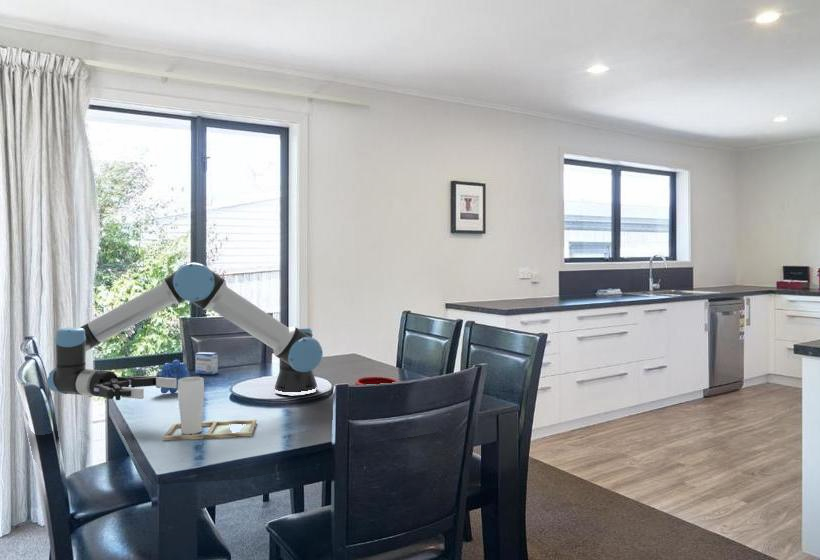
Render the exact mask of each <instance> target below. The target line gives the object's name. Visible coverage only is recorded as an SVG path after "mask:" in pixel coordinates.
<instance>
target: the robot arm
mask: <svg viewBox="0 0 820 560" xmlns="http://www.w3.org/2000/svg"><path fill="white" fill-rule="evenodd" d="M186 301H188V302H190V303H192V304H194V305H195V306H197V307H198V308H200V309H201V310H203V311H204V310H211V311H214V312H215V313H217V314H218V315H220V316H221V317H222V318H225V319H226V320H228V321H229V322H230V323H232V324H234V325H235V326H237V327H238V328H239V329H242V330H243V331H244V332H246V333H248V334H250V335H251V336H252V337H254V338H255V339H257V340H259V341H260V342H262V343H263V344H265V345H266V346H268V347H269V348H271V349H272V350H273V354H274V356H275V357H277V358H278V359H279V370H278V371H279V373H278V374H277V378H276V382H275V385H274V390H275V389H276V390H278V391H282V392H301V391H308V390H312V389H315V388H316V387H317V388H318V384H317V382H316V377H315V374H314V370H315V369H316V368H317V367H318V366H319V365H320V364H321V362H322V360H323V356H324V355H323V354H324V353H323V348H322V346H321V343H320V342H319V341H318V340H317V339H315V338H313V330H312V329H311V328H298V327H296V326H287V325H285V324H284V323H282V322H281V321H279V320H277V319H276V318H275V317H274V316H272V315H270V314H269V313H267V312H266V311H264V310H262V309H261V308H260V307H259V306H256V305H255V304H253V303H252V302H251V301H249V300H247V299H246V298H245V297H243V296H241V295H240V294H239V293H237V292H235V291H234V290H232V289H231V288H229V287H228V285H227V281H226V279H225V278H223V277H221V276H220V275H219V274H217V273H215V272H214V271H213V270H211V269H210V268H209V267H207V266H206V265H205V264H203V263H200V262H194V261H193V262H186V263H184V264H182V265H181V266H179V267H178V268H177V270H176V271H174V272H173V273H171V274H170V275H168V276H166V277H165V278H163V279H162V282H161V283H159V284H158V285H155V286H154V287H153V288H151V289H149V290H147V291H145V292H143V293H141V294H140V295H138V296H136V297H133V298H132V299H130V300H128V301H126V302H124V303H122V304H121V305H119V306H117V307H115V308H113V309H112V310H110V311H108V312H105V313H104V314H102V315H100V316H98V317H96V318H95V319H93V320H91V321H89V322H87V323H86V324H84V325H82V326H79V327H78V326H77V327H63V328H59V329H57V331H56V337H55V348H56V349H55V351H56V353H55V355H56V357H55V358H56V366H55V368H53V369H52V370H50V372H49V373H48V377H47V378H46V384H47V387H48V388H49V390H50V391H52V392H55V393H60V394H62V395H76V396H77V395H81V396H88V398H92V397H99V398H101V397H102V398H106V399H109V400H112V399H114V397H115V401H120V400H121V398H125V399H135V400H143V399H144V395H145V394H144V389H145V388H144V387H156V388H157V387H166V388H177V379H175V378H162V376H161V375H159V374H157V373H156V374H157V376H156V375H127V376H126V377H125V376H118V375H117V374H116V373H115V372H114V371H112V370H100V369H89V368H88V369H86V368H87V367H86V366H87V364H86V363H87V362H86V358H87V357H86V355H87V354H86V353H87V351H89V350H91V349H93V348H95V347H96V346H99V345H101V344H102V343H103V342H105V341H107V340H108V339H111V338H112V337H114V336H116V335H118V334H120V333H122V332H124V331H125V330H127V329H130V328H131V327H133V326H135V325H136V324H138V323H140V322H141V321H143V320H146V319H147V318H149V317H151V316H153V315H155V314H158V312H160V311H162V310H164V309H166V308H168V307H170V306H171V305H174V304H177V305H178V304H181V303H183V302H186ZM141 387H143V388H141Z"/></svg>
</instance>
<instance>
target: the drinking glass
mask: <svg viewBox="0 0 820 560" xmlns="http://www.w3.org/2000/svg"><path fill="white" fill-rule="evenodd" d="M204 386H205V383H204V377H201V376H188V377H185V378H181V379H179V380H178V390H177V399H178V406H179V407H178V409H179V416H180V417H179V419H180V423H181V427H180V432H181V434H182V435H186V434H187V435H189V434H192V435H195V434H200V432H201V431H202V430H203V428H202V427H203V426H202V422H203V407H204V397H205V396H204V395H205V387H204Z"/></svg>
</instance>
